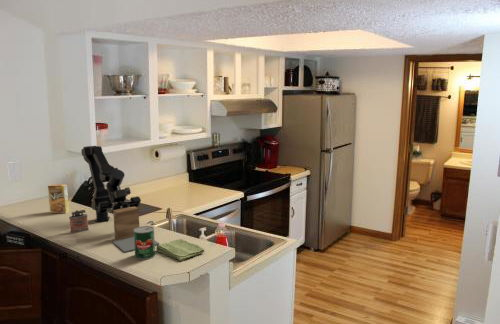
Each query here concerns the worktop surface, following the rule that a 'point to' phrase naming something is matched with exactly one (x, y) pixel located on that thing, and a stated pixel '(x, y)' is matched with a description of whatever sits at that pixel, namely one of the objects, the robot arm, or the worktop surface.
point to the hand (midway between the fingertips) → (124, 220)
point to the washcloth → (180, 249)
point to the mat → (127, 244)
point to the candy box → (58, 198)
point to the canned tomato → (144, 242)
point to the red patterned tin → (78, 222)
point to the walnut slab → (125, 222)
